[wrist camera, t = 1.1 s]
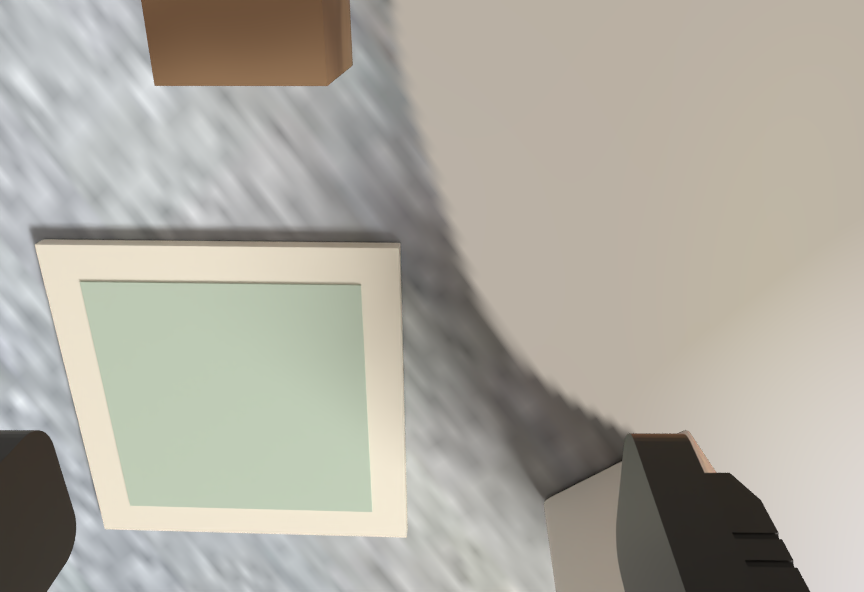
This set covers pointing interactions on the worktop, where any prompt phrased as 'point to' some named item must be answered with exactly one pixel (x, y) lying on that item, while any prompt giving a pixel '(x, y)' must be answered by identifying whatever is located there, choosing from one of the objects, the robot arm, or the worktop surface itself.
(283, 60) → the walnut block
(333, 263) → the coaster
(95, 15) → the worktop surface
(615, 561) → the milk carton
